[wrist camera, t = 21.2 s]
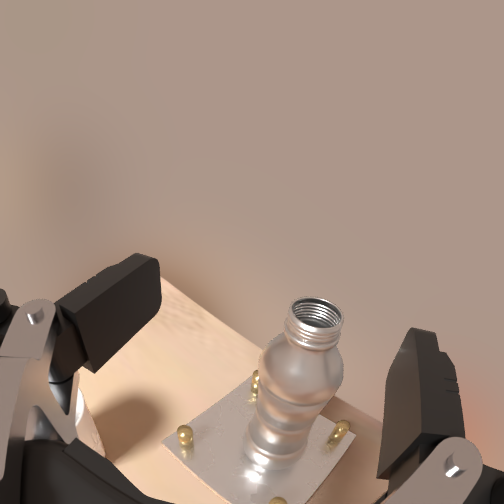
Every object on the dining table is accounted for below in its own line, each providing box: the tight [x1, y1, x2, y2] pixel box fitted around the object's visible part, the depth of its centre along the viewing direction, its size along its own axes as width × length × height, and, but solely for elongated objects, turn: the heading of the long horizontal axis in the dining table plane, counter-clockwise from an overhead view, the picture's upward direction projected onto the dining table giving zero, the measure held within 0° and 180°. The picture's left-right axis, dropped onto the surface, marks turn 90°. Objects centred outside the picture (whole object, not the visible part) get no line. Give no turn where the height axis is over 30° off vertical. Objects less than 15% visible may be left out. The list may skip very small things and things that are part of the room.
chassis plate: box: [161, 370, 356, 504], centre depth 29 cm, size 16×16×4 cm
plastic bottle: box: [243, 297, 344, 470], centre depth 24 cm, size 6×7×20 cm
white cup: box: [75, 387, 105, 457], centre depth 22 cm, size 8×8×10 cm
